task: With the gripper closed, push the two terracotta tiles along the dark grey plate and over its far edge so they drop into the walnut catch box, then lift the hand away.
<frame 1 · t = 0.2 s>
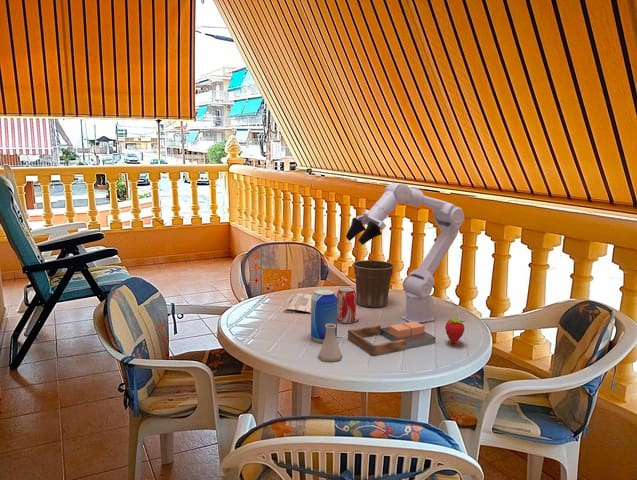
hand: (353, 240, 167), 31 cm above the table, tool tilted 50°, fingers open, 7 cm apart
grey plate: (406, 338, 168), on the table
tile 1: (399, 334, 166), point 2 cm above the table, touching grey plate
catch box: (377, 344, 163), on the table
newspaper: (300, 306, 202), on the table
beer can: (323, 339, 166), on the table
strawberry: (453, 344, 164), on the table
tile 2: (413, 331, 168), point 2 cm above the table, touching grey plate
plant pot: (372, 304, 205), on the table
soda can: (345, 321, 183), on the table
flask: (330, 358, 152), on the table
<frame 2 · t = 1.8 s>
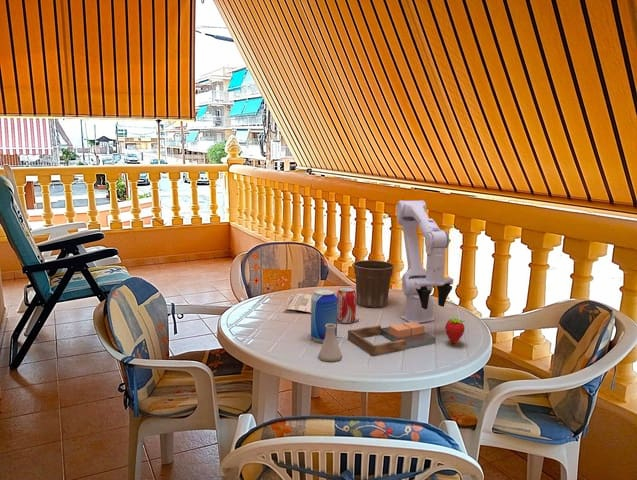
hand: (432, 307, 170), 9 cm above the table, tool pointing down, fingers open, 6 cm apart
nothing on the table moved.
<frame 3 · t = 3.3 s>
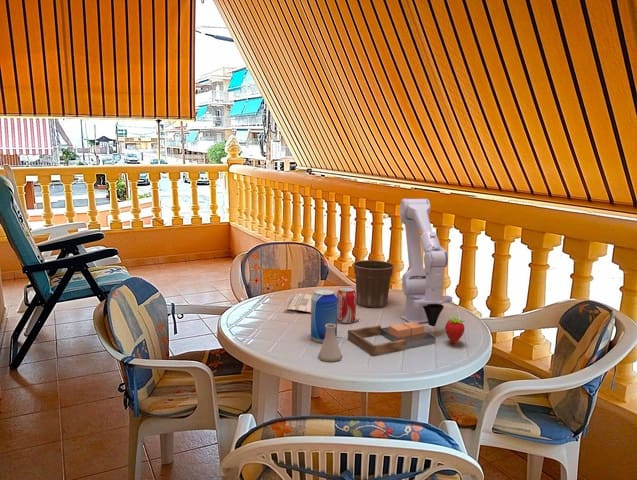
hand: (431, 325, 171), 3 cm above the table, tool pointing down, fingers closed
nothing on the table moved.
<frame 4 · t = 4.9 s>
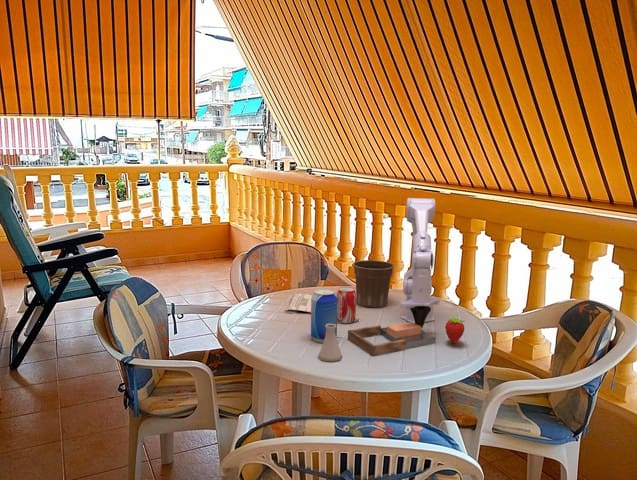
hand: (419, 327, 169), 3 cm above the table, tool pointing down, fingers closed
tile 2: (410, 332, 168), point 2 cm above the table, touching gripper
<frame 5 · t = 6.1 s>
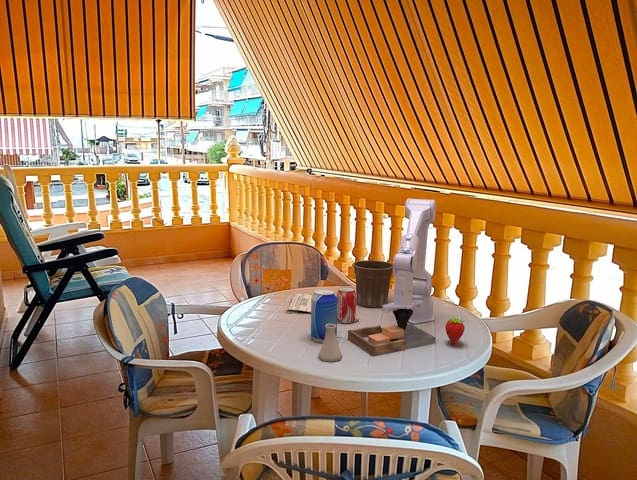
hand: (401, 330, 166), 3 cm above the table, tool pointing down, fingers closed
tile 1: (378, 344, 163), on the table
tile 2: (392, 335, 165), point 2 cm above the table, touching grey plate, gripper
everything else where it was.
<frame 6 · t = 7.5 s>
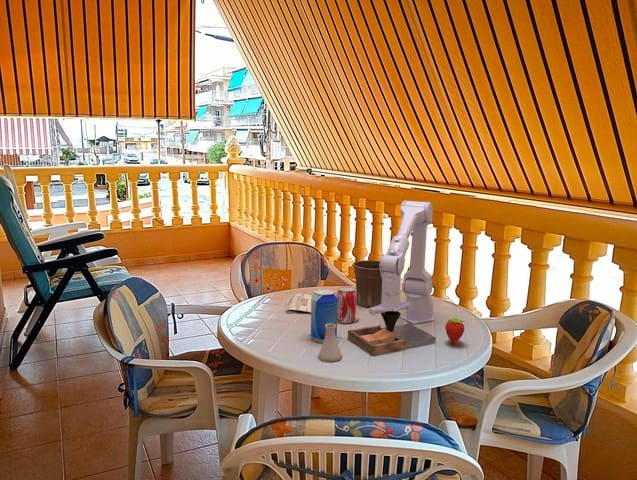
hand: (389, 333, 164), 3 cm above the table, tool pointing down, fingers closed, pressing on tile 2
tile 1: (368, 345, 162), on the table, touching catch box, tile 2
tile 2: (384, 340, 163), point 1 cm above the table, tilted 17°, touching tile 1, gripper
everything else where it was.
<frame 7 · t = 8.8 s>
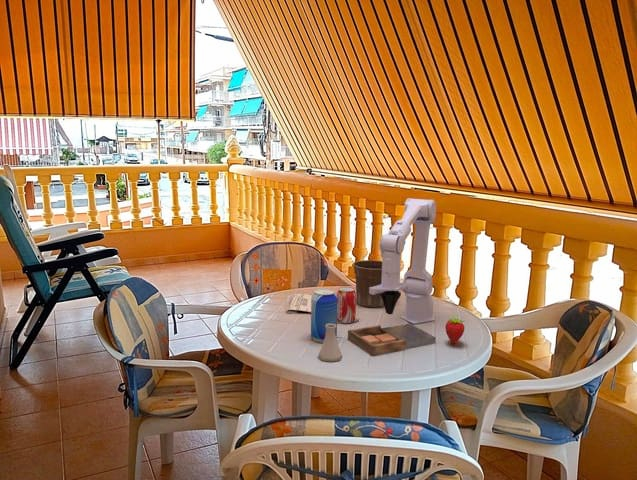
hand: (389, 313, 164), 9 cm above the table, tool pointing down, fingers closed
tile 1: (368, 345, 162), on the table
tile 2: (385, 344, 163), on the table
everything else where it was.
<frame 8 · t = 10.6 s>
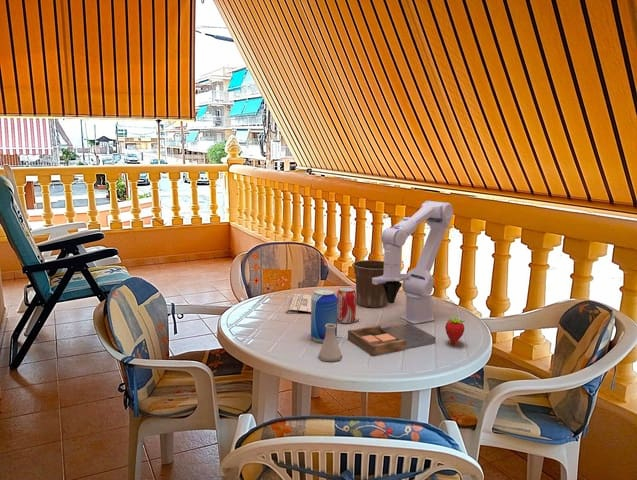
hand: (390, 302, 175), 9 cm above the table, tool pointing down, fingers closed
nothing on the table moved.
at the end: tile 2 inside the target area on the catch box (3.2 cm from its centre), point 0.0 cm above the catch box's base; tile 1 inside the target area on the catch box (2.6 cm from its centre), point 0.0 cm above the catch box's base; the gripper is holding nothing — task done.
